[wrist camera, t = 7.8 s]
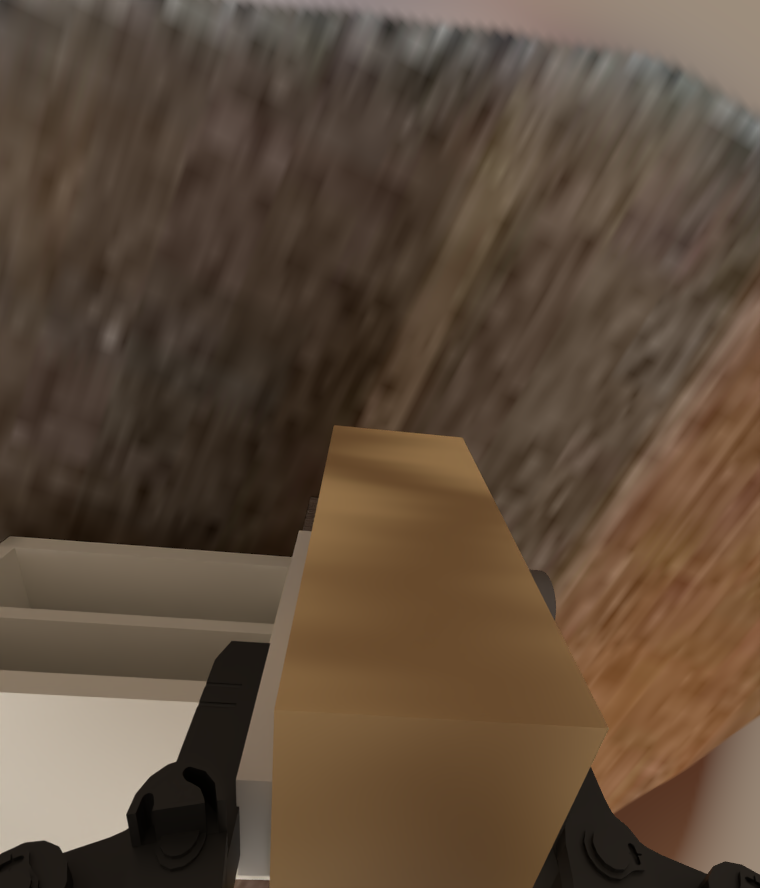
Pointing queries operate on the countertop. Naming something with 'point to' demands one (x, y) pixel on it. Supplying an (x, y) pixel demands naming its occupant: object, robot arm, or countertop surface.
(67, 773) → the block
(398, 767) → the oak door
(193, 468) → the countertop surface
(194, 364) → the countertop surface
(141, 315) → the countertop surface
